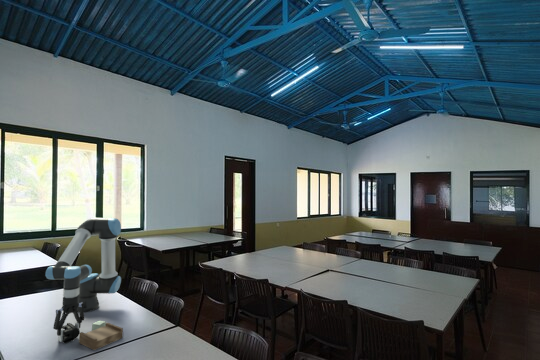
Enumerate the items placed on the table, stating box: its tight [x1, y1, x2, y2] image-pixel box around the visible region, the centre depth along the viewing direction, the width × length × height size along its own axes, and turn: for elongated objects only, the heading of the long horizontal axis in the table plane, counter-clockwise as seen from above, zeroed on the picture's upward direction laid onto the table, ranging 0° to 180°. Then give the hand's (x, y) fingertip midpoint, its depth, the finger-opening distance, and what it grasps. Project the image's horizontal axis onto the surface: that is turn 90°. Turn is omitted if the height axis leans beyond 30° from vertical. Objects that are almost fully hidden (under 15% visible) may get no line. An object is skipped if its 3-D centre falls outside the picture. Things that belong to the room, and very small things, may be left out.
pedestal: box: [78, 322, 124, 351], centre depth 166 cm, size 16×14×5 cm
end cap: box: [61, 322, 81, 344], centre depth 164 cm, size 10×7×7 cm
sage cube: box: [91, 320, 107, 331], centre depth 177 cm, size 5×5×5 cm
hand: (68, 337), depth 164 cm, fingers closed on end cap, 8 cm apart
